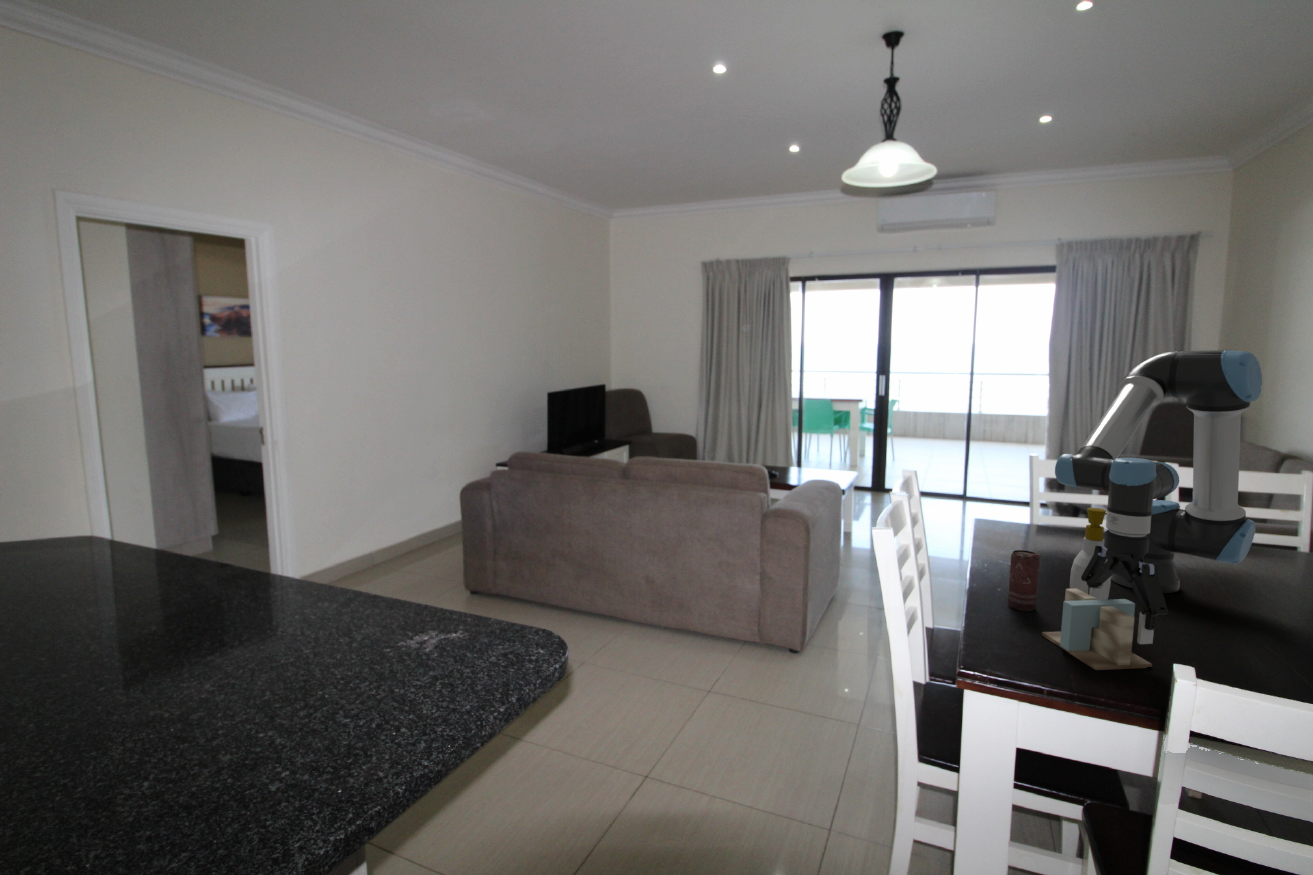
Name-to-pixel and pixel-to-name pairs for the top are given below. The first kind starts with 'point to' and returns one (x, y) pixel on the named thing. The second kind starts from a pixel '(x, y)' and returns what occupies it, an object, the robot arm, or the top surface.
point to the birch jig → (1105, 638)
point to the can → (1023, 580)
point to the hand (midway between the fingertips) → (1118, 628)
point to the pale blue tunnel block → (1086, 620)
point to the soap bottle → (1089, 551)
